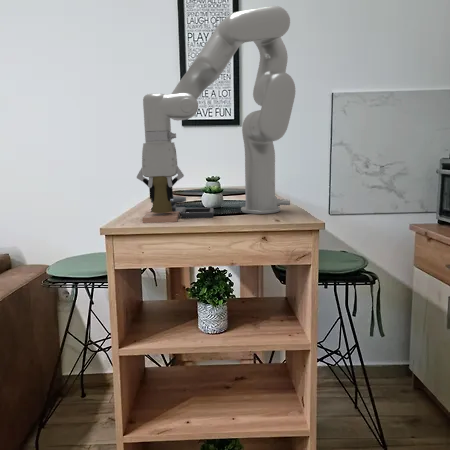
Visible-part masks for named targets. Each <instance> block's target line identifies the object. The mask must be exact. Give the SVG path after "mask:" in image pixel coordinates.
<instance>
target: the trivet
mask: <svg viewBox="0 0 450 450" xmlns="http://www.w3.org/2000/svg"><path fill="white" fill-rule="evenodd" d="M180 218H181V213H180V211H178V212H168V213H153V212H152V211H149V212H148V211H147V212H146V213H145V214H144V215H143V216H142V223H146V224H147V223H151V224H152V223H178V221H179V219H180Z"/></svg>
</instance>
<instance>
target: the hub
mask: <svg viewBox="0 0 450 450" xmlns="http://www.w3.org/2000/svg"><path fill="white" fill-rule="evenodd" d="M176 204H177V203H171V206H172V212H178V211H180V212H182V210H183V209H186V207H185V206H180V207H179V206H176Z"/></svg>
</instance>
